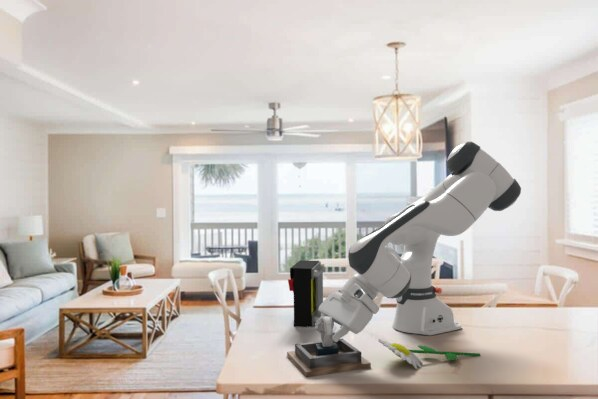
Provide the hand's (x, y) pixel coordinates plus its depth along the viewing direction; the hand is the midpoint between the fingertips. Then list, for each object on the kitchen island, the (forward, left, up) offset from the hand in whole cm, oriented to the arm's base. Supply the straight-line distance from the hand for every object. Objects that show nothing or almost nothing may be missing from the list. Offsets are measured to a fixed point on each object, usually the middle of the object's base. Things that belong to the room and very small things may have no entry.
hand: (325, 335), depth 132 cm
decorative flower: (-28, +9, -8) cm, 30 cm away
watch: (0, 0, -6) cm, 6 cm away
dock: (-1, 0, -7) cm, 7 cm away
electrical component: (-10, -41, -8) cm, 43 cm away
